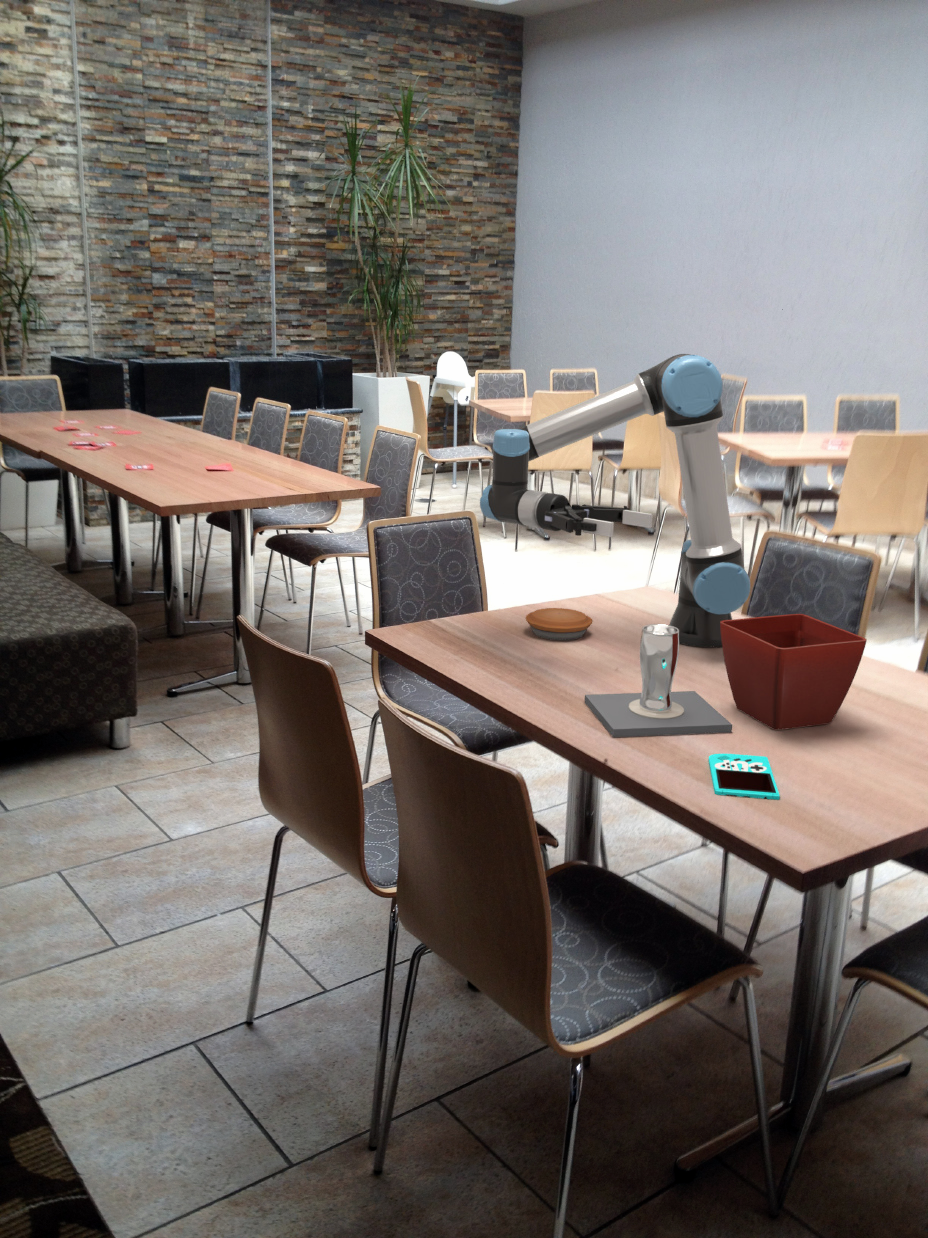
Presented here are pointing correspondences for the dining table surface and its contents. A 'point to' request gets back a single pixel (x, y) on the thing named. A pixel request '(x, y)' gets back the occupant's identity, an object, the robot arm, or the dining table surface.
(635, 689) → the dining table surface
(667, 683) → the beer glass
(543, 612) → the pie
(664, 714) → the serving board
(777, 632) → the plant pot
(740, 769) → the handheld game console
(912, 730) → the dining table surface
